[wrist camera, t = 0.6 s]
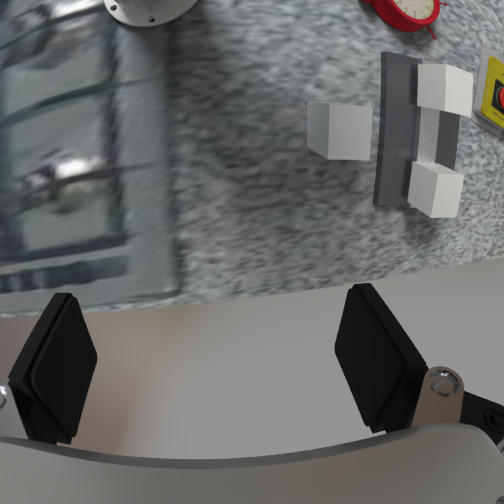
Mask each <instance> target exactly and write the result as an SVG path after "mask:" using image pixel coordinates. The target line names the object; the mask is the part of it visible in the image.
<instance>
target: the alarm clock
mask: <svg viewBox="0 0 504 504" xmlns="http://www.w3.org/2000/svg"><path fill="white" fill-rule="evenodd" d="M361 1H363V2H366V3H370V2H371V4H372V6H373V8H374V9H375V11H376V12H377V14H378V15H379V16H380V17H381V18H382V19H383V20H384V21H385V22H386V23H388V24H389V25H391V26H392V27H394V28H396V29H398V30H401V31H406V32H414V31H418V30H420V29H422V28H424V27H425V26H427V28H428V30H429V31H430V32H431V34H432V36H433V39H436V37H435V36H434V35H433V33H432V31H431V29H430V27H429V26H428V25H429V24H431V23H432V22H434V21H435V20H436V18H437V17H438V15H439V11H440V4H443V5H445V6H447V4H446V3H445V4H444V3H441V2H439V0H361ZM439 3H440V4H439Z"/></svg>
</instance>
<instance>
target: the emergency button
mask: <svg viewBox="0 0 504 504" xmlns="http://www.w3.org/2000/svg"><path fill="white" fill-rule="evenodd" d="M471 120H472V121H473V122H475V123H477V124H478V125H480V126H482V127H483V128H485V129H486V130H488V131H490V132H491V133H493V134H494V135H496V136H499V135H500V133H501V130H504V60H503V59H502V58H501V57H499V56H498V55H497V54H496V53H495V52H493V51H492V50H491V49H490V48H488V47H487V46H486V45H482V47H481V55H480V63H479V70H478V77H477V83H476V89H475V95H474V100H473V105H472V110H471Z"/></svg>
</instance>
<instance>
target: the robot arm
mask: <svg viewBox="0 0 504 504" xmlns="http://www.w3.org/2000/svg"><path fill="white" fill-rule="evenodd" d="M197 1H198V0H104V3H105V7H106V8H107V10H108V12H109V13H110V14H111V15H112V16H113V17H114V18H115V19H117V20H118V21H120V22H122V23H124V24H126V25H129V26H134V27H145V28H146V27H155V26H159V25H163V24H166V23H168V22H171V21H173V20H175V19H177V18H179V17H180V16H182V15H184V14H185V13H186V12H187V11H188V10H190V9H191V8H192V7H193V6H194V4H195V3H196V2H197ZM115 8H117V9H116V10H115V11H114V9H115ZM153 19H154V20H155V21H154V22H151V20H153ZM335 354H336V356H337V358H338V361H339V364H340V366H341V368H342V371H343V373H344V375H345V378H346V380H347V383H348V385H349V387H350V390H351V392H352V395H353V397H354V399H355V402H356V404H357V407H358V409H359V411H360V414H361V417H362V419H363V422H364V424H365V425H366V426H370V429H371V431H372V433H377V432H380V431H384V430H385V431H386V434H383V435H379V436H375V437H371V438H367V439H363V440H359V441H354V442H349V443H344V444H339V445H335V446H330V447H324V448H319V449H313V450H307V451H300V452H293V453H286V454H277V455H268V456H258V457H246V458H229V459H162V458H144V457H133V456H122V455H114V454H106V453H99V452H92V451H85V450H79V449H74V448H68V447H63V446H57V445H56V444H57V442H60V443H64V444H69V445H70V444H71V440H72V437H75V436H76V433H77V430H78V426H79V422H80V418H81V415H82V411H83V407H84V403H85V400H86V396H87V393H88V389H89V386H90V383H91V379H92V376H93V373H94V369H95V366H96V363H97V353H96V350H95V347H94V345H93V342H92V340H91V337H90V335H89V332H88V329H87V326H86V323H85V321H84V318H83V315H82V312H81V309H80V306H79V303H78V300H77V298H76V297H73V295H72V294H71V293H55V294H54V296H53V297H52V299H51V300H50V302H49V304H48V305H47V307H46V309H45V310H44V312H43V313H42V315H41V317H40V319H39V320H38V322H37V324H36V325H35V327H34V329H33V331H32V332H31V334H30V336H29V338H28V339H27V341H26V343H25V345H24V347H23V349H22V351H21V353H20V354H19V356H18V358H17V360H16V362H15V364H14V366H13V368H12V370H11V372H10V374H9V376H8V378H9V379H10V380H9V382H8V384H6V383H5V382H2V381H0V504H504V406H502V405H500V404H497V403H495V402H492V401H490V400H487V399H484V398H481V397H479V396H476V395H474V394H471V393H469V392H466V391H464V384H463V381H462V379H461V377H460V376H459V375H458V374H457V373H456V372H455V371H453V370H452V369H449V368H447V367H442V366H437V367H433V368H431V369H428V367H427V365H426V362H425V361H424V359H423V358H422V356H421V355H420V353H419V351H418V350H417V348H416V347H415V345H414V344H413V343H412V341H411V340H410V338H409V337H408V335H407V334H406V332H405V331H404V330H403V328H402V326H401V325H400V323H399V322H398V321H397V319H396V318H395V316H394V315H393V313H392V312H391V311H390V310H389V308H388V306H387V305H386V304H385V302H384V301H383V299H382V298H381V297H380V295H379V294H378V292H377V291H376V290H375V288H374V287H373V286H372V285H371V284H370V283H362V284H354V285H353V287H352V288H351V289H349V290H348V293H347V297H346V302H345V306H344V310H343V314H342V318H341V323H340V326H339V330H338V334H337V338H336V342H335Z"/></svg>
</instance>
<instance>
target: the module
mask: <svg viewBox="0 0 504 504" xmlns="http://www.w3.org/2000/svg"><path fill="white" fill-rule="evenodd" d="M372 110H373V108H372V107H366V106H359V105H352V104H345V103H332V102H315V101H307V147H308V148H310V149H312V150H313V151H315V152H317V153H318V154H320V155H321V156H323V157H325V158H326V159H328V160H370V147H371V131H372Z"/></svg>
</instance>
